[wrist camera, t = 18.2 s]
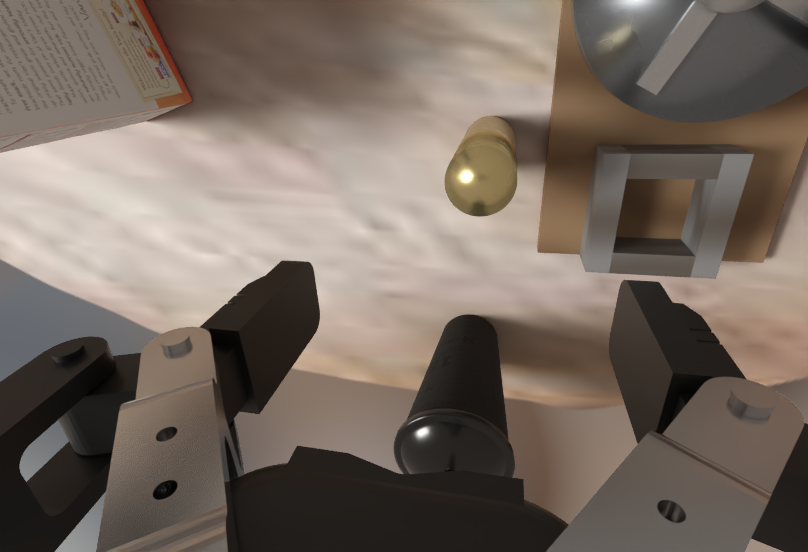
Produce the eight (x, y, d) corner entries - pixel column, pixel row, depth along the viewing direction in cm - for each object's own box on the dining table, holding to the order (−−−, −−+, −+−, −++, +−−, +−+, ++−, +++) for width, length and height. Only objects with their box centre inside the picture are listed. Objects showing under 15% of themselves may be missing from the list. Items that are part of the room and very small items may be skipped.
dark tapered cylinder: (532, 338, 38) (550, 579, 21) (473, 384, 42) (446, 622, 25) (466, 283, 37) (427, 488, 20) (411, 336, 41) (337, 547, 24)
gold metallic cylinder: (464, 116, 31) (444, 145, 22) (516, 115, 31) (519, 145, 21) (463, 167, 33) (444, 215, 23) (513, 167, 32) (514, 217, 23)
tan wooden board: (576, -139, 24) (587, -171, 21) (907, -182, 21) (985, -227, 18) (537, 247, 35) (540, 269, 31) (756, 256, 31) (786, 282, 28)
